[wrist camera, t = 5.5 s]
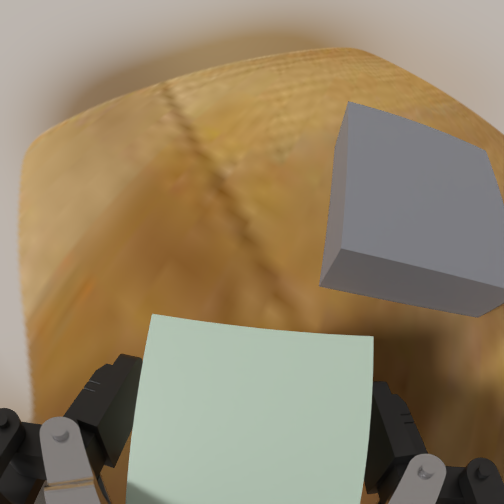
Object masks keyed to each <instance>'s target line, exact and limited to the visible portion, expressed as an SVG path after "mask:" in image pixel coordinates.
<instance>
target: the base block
mask: <svg viewBox="0 0 504 504" xmlns="http://www.w3.org/2000/svg"><path fill="white" fill-rule="evenodd" d="M319 286H320V287H325V288H330V289H334V290H339V291H344V292H349V293H354V294H359V295H364V296H368V297H373V298H378V299H383V300H388V301H393V302H398V303H404V304H409V305H414V306H419V307H424V308H429V309H435V310H440V311H445V312H450V313H456V314H461V315H467V316H472V317H480V316H481V315H483V314H485V313H487V312H489V311H491V310H492V309H494V308H496V307H498V306H500V305H501V304H503V303H504V204H503V201H502V197H501V194H500V191H499V187H498V184H497V181H496V178H495V175H494V172H493V169H492V167H491V164H490V161H489V158H488V156H487V153H486V151H485V150H483V149H481V148H479V147H476V146H474V145H472V144H470V143H468V142H465V141H463V140H461V139H458V138H456V137H454V136H451V135H449V134H446V133H444V132H441V131H439V130H436V129H434V128H431V127H428V126H426V125H423V124H420V123H417V122H415V121H412V120H409V119H406V118H403V117H400V116H397V115H394V114H391V113H388V112H384V111H381V110H378V109H374V108H371V107H367V106H364V105H360V104H356V103H353V102H349V101H348V104H347V108H346V111H345V115H344V118H343V121H342V125H341V128H340V132H339V135H338V138H337V142H336V145H335V152H334V164H333V175H332V186H331V196H330V206H329V215H328V223H327V232H326V240H325V248H324V255H323V262H322V269H321V276H320V283H319Z"/></svg>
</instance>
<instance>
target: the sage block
mask: <svg viewBox="0 0 504 504" xmlns="http://www.w3.org/2000/svg"><path fill="white" fill-rule="evenodd" d="M372 385H373V336H353V335H335V334H319V333H306V332H293V331H282V330H271V329H261V328H252V327H243V326H234V325H226V324H218V323H210V322H203V321H196V320H189V319H182V318H175V317H169V316H163V315H156V314H152V317H151V322H150V327H149V332H148V337H147V342H146V347H145V353H144V358H143V364H142V370H141V375H140V382H139V388H138V394H137V401H136V408H135V415H134V422H133V430H132V438H131V447H130V456H129V467H128V478H127V491H126V504H360V500H361V494H362V488H363V481H364V474H365V467H366V459H367V450H368V441H369V431H370V419H371V404H372Z"/></svg>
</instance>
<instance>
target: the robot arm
mask: <svg viewBox="0 0 504 504" xmlns="http://www.w3.org/2000/svg"><path fill="white" fill-rule="evenodd" d="M142 364H143V361H142V359H141V358H139V357H135V356H130V355H126V354H120V355H119V357H118V358H117V359H116V361H115V362H114V364H113V365H110V364H106V365H104V366H102V367H101V368H99V369H98V370H96V371H95V373H94V374H93V375H92V377H91V378H90V379H89V382H87V384H86V385H85V386H84V389H82V391H81V392H80V393H79V395H78V396H77V398H76V399H75V400H74V402H73V403H72V405H71V406H70V408H69V409H68V410H67V412H66V413H65V415H64V416H63V417H54V418H51V419H49V420H47V421H46V422H45V423H44V424H43V425H40V424H33V423H26V422H21V421H20V419H19V417H18V415H17V414H16V413H15V412H14V411H13V410H11V409H7V408H0V504H34V502H35V500H36V498H37V495H38V493H39V491H40V489H41V487H42V485H43V483H44V481H45V480H47V481H48V486H45V487H44V495H45V500H46V504H112V501H111V499H110V496H109V494H108V491H107V489H106V486H105V483H104V481H103V478H102V475H101V473H100V472H101V470H102V468H103V465H107V466H110V467H113V468H114V467H115V465H116V463H117V461H118V458H119V456H120V454H121V452H122V450H123V447H124V445H125V443H126V441H127V439H128V437H129V434H130V432H131V430H132V428H133V422H134V415H135V408H136V401H137V394H138V388H139V382H140V375H141V370H142ZM364 481H365V486H366V491H367V494H373V493H378V494H379V498H380V499H379V500H378V501H377V502H376V504H504V483H503V481H502V479H501V476H500V474H499V472H498V470H497V468H496V466H495V464H494V463H493V462H491V461H490V460H488V459H486V458H476V459H474V460H472V461H471V462H470V463H469V464H468V465H467V466H466V467H448V466H445V465H444V463H443V462H442V460H440V459H439V458H438V457H436V456H434V455H431V454H428V453H427V450H426V448H425V446H424V443H423V441H422V438H421V436H420V434H419V431H418V429H417V427H416V425H415V424H414V420H413V418H412V416H411V415H410V411H409V409H408V407H407V404H406V403H405V402H404V401H403V400H402V399H401V398H400V397H399V396H398V395H397V394H391V391H390V389H389V387H388V384H387V383H386V382H385V381H379V382H373V385H372V404H371V419H370V431H369V441H368V450H367V459H366V467H365V474H364Z"/></svg>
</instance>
